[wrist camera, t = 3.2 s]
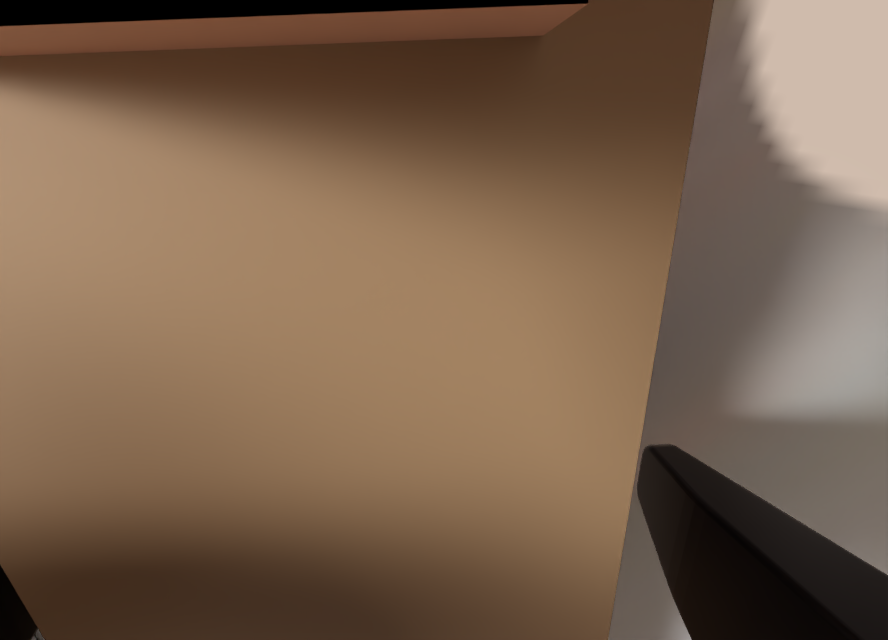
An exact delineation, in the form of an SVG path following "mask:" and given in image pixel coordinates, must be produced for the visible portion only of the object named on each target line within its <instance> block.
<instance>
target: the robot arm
mask: <svg viewBox="0 0 888 640" xmlns="http://www.w3.org/2000/svg"><path fill="white" fill-rule="evenodd" d="M637 493H638V498H639V502H640V505H641V508H642V511H643V514H644V516H645V519H646V522H647V525H648V528H649V531H650V534H651V537H652V540H653V543H654V546H655V548H656V551H657V554H658V557H659V560H660V563H661V566H662V569H663V572H664V575H665V577H666V580H667V583H668V586H669V588H670V591H671V594H672V596H673V599H674V601H675V603H676V606H677V608H678V610H679V613H680V615H681V617H682V619H683V621H684V624H685V626H686V628H687V630H688V632H689V634H690V637H691V639H692V640H888V575H886V574H885V573H883V572H881V571H880V570H878V569H876V568H875V567H873V566H872V565H870V564H868V563H867V562H865V561H863V560H862V559H860V558H858V557H857V556H855V555H854V554H852V553H850V552H849V551H847V550H845V549H844V548H842V547H840V546H839V545H837V544H835V543H834V542H832V541H831V540H829V539H827V538H826V537H824V536H822V535H821V534H819V533H817V532H816V531H814V530H812V529H811V528H809V527H808V526H806V525H804V524H803V523H801V522H799V521H798V520H796V519H794V518H793V517H791V516H790V515H788V514H786V513H785V512H783V511H781V510H780V509H778V508H776V507H775V506H773V505H771V504H770V503H768V502H767V501H765V500H763V499H762V498H760V497H758V496H757V495H755V494H753V493H752V492H750V491H748V490H747V489H745V488H744V487H742V486H740V485H739V484H737V483H735V482H734V481H732V480H730V479H729V478H727V477H726V476H724V475H722V474H721V473H719V472H717V471H716V470H714V469H712V468H711V467H709V466H707V465H706V464H704V463H703V462H701V461H699V460H698V459H696V458H694V457H693V456H691V455H689V454H688V453H686V452H684V451H683V450H681V449H680V448H678V447H676V446H674V445H671V444H662V445H648V446H647V447H645V449H644V451H643V454H642V460H641V466H640V471H639V477H638V483H637ZM37 629H38V627H37V626H36V624H35V622H34V621H33V619H32V617H31V615H30V614H29V612H28V610H27V609H26V607H25V605H24V604H23V602H22V600H21V599H20V597H19V595H18V594H17V592H16V590H15V589H14V587H13V585H12V583H11V582H10V580H9V578H8V577H7V575H6V573H5V572H4V570H3V568H2V567H1V565H0V640H32V638H33V636H34V635H35V633H36V631H37Z"/></svg>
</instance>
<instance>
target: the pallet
mask: <svg viewBox="0 0 888 640" xmlns="http://www.w3.org/2000/svg"><path fill="white" fill-rule="evenodd" d="M713 2H714V0H588V4H587V5H586V6H584V7H583V8H582V9H580V10H579V11H577V12H576V13H574V14H573V15H572V16H570V17H569V18H567V19H566V20H565V21H563V22H562V23H560V24H559V25H558V26H556V27H555V28H553V29H552V30H550V31H549V32H548V33H546V34H545V35H543V36H519V37H493V38H466V39H440V40H413V41H387V42H361V43H334V44H308V45H282V46H255V47H229V48H203V49H176V50H150V51H123V52H97V53H71V54H44V55H18V56H0V565H1V567H2V568H3V570H4V572H5V573H6V575H7V577H8V578H9V580H10V582H11V583H12V585H13V587H14V589H15V590H16V592H17V594H18V595H19V597H20V599H21V600H22V602H23V604H24V605H25V607H26V609H27V610H28V612H29V614H30V615H31V617H32V619H33V621H34V622H35V624H36V626H37V627H38V629H39V631H40V632H41V634H42V636H43V637H44V639H45V640H608V636H609V630H610V624H611V618H612V612H613V606H614V600H615V594H616V588H617V582H618V576H619V570H620V564H621V558H622V552H623V546H624V540H625V533H626V527H627V521H628V515H629V509H630V503H631V497H632V491H633V485H634V479H635V473H636V467H637V461H638V455H639V449H640V443H641V437H642V431H643V425H644V419H645V413H646V407H647V401H648V395H649V389H650V383H651V376H652V370H653V364H654V358H655V352H656V346H657V340H658V334H659V328H660V322H661V316H662V310H663V304H664V298H665V292H666V286H667V280H668V274H669V268H670V262H671V256H672V250H673V244H674V238H675V232H676V225H677V219H678V213H679V207H680V201H681V195H682V189H683V183H684V177H685V171H686V165H687V159H688V153H689V147H690V141H691V135H692V129H693V123H694V117H695V111H696V105H697V99H698V93H699V87H700V81H701V75H702V68H703V62H704V56H705V50H706V44H707V38H708V32H709V26H710V20H711V14H712V8H713ZM539 5H545V0H0V26H23V25H49V24H75V23H100V22H126V21H152V20H178V19H204V18H229V17H255V16H281V15H307V14H332V13H358V12H384V11H410V10H436V9H461V8H487V7H513V6H539Z"/></svg>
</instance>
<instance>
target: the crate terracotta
mask: <svg viewBox="0 0 888 640" xmlns="http://www.w3.org/2000/svg"><path fill="white" fill-rule="evenodd" d="M587 4H588V0H545V5H539V6H513V7H487V8H461V9H436V10H410V11H384V12H358V13H332V14H307V15H281V16H255V17H229V18H204V19H178V20H152V21H126V22H100V23H75V24H49V25H23V26H0V56H18V55H44V54H71V53H97V52H123V51H150V50H176V49H203V48H229V47H255V46H282V45H308V44H334V43H361V42H387V41H413V40H440V39H466V38H493V37H519V36H543V35H545V34H546V33H548V32H549V31H550V30H552V29H553V28H555V27H556V26H558V25H559V24H560V23H562V22H563V21H565V20H566V19H567V18H569V17H570V16H572V15H573V14H574V13H576V12H577V11H579V10H580V9H582V8H583V7H584V6H586V5H587Z"/></svg>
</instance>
